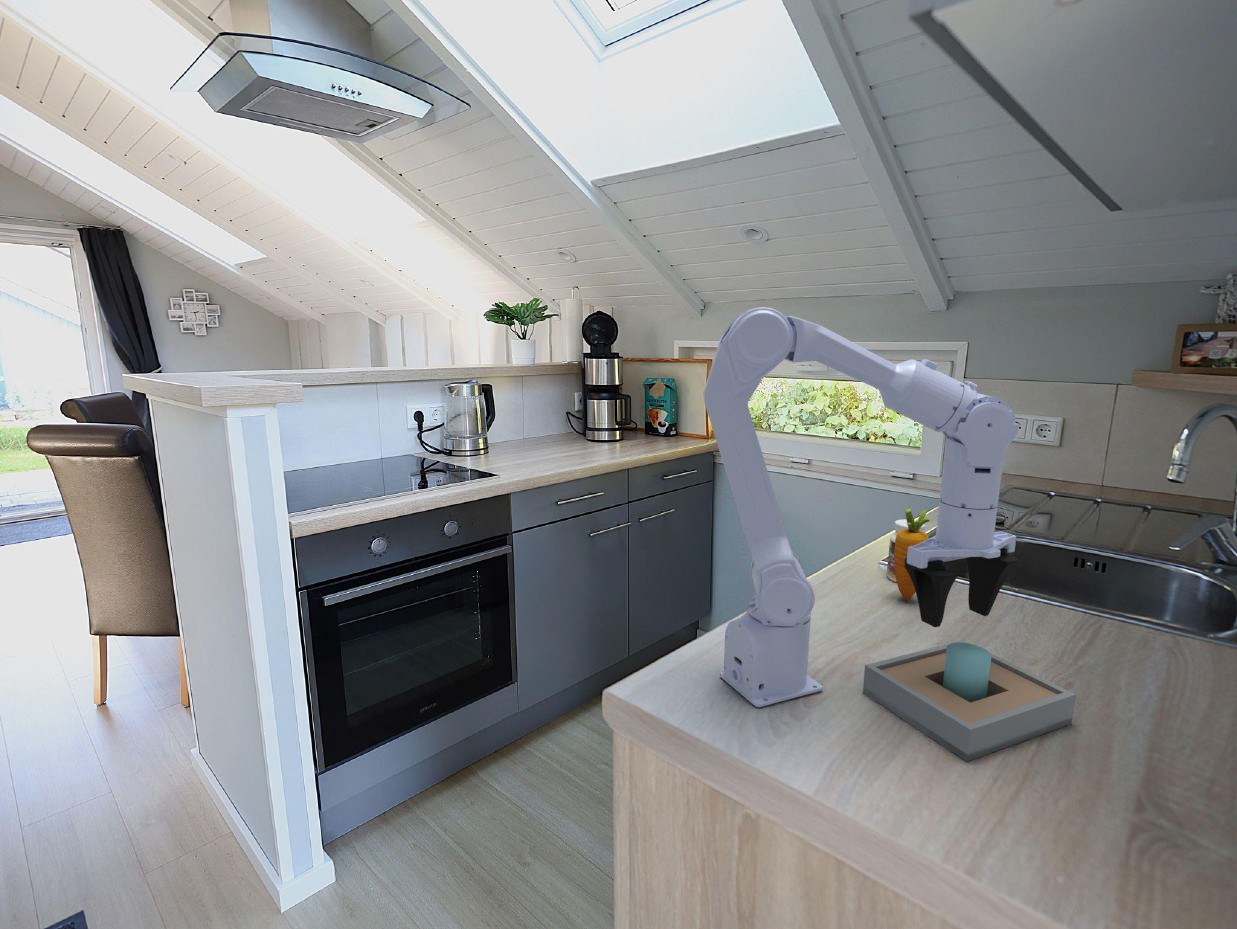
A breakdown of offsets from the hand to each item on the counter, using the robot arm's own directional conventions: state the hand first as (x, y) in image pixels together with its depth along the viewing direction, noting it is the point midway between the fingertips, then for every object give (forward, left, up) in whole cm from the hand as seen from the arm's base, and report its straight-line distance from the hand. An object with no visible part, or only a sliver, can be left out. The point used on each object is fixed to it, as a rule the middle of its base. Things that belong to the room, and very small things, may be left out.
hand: (955, 617), depth 77 cm
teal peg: (-1, -3, -9) cm, 9 cm away
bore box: (-1, -3, -9) cm, 10 cm away
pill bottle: (+24, +29, -10) cm, 39 cm away
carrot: (+17, +22, -10) cm, 29 cm away
